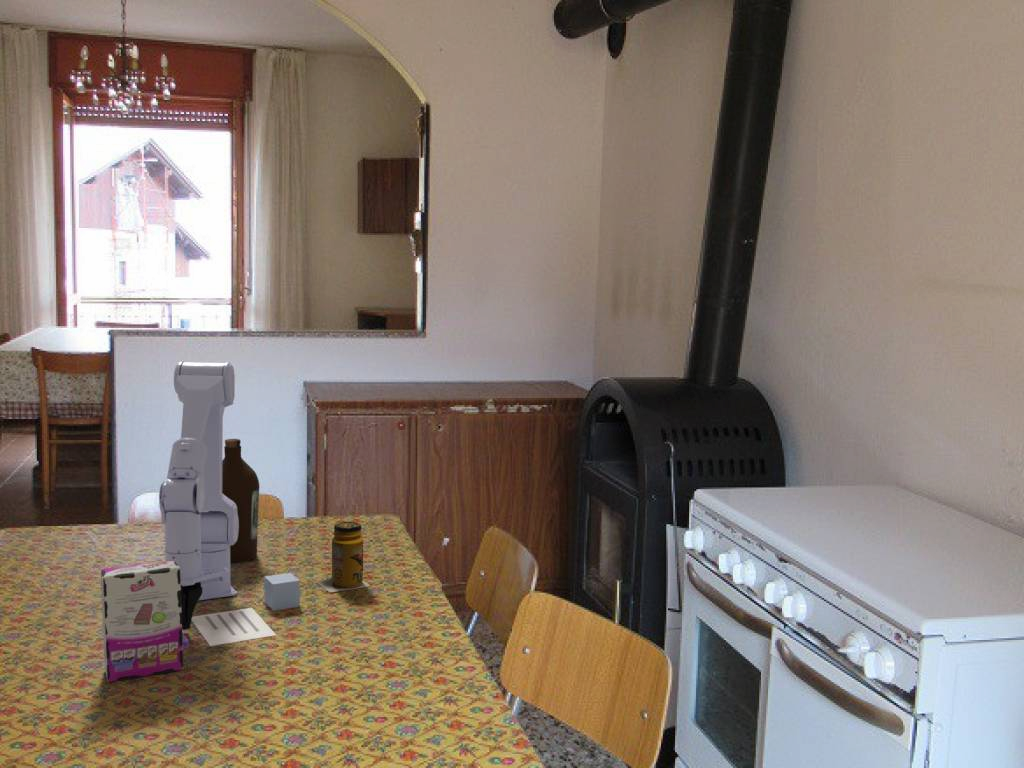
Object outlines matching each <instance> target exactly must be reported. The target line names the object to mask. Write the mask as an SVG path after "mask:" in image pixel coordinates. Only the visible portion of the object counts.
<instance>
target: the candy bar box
mask: <svg viewBox="0 0 1024 768" xmlns="http://www.w3.org/2000/svg"><path fill="white" fill-rule="evenodd" d="M180 582H181V579H180V567H179V566H178V565H177V563H176V561H175V560H170V561H165V560H163V561H153V562H145V563H139V564H131V565H123V566H115V567H107V568H100V588H101V589H100V591H101V609H102V610H101V612H102V613H101V614H102V636H103V638H102V640H103V657H104V659H103V661H104V672H105V676H106V680H107V682H108V683H110V682H111V683H112V682H118V681H124V680H131V679H135V678H136V679H137V678H140V677H141V678H142V677H148V676H149V677H150V676H154V675H159V674H166V673H170V672H171V673H172V672H179V671H182V670H183V669H184V649H183V641H182V633H183V630H182V615H181V613H182V612H181V583H180Z"/></svg>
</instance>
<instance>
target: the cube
mask: <svg viewBox="0 0 1024 768" xmlns="http://www.w3.org/2000/svg"><path fill="white" fill-rule="evenodd" d="M263 580H264V603H265V605H267V607H269V609H271V611H273V612H276V611H280V610H286V609H292V608H299V607H301V602H300V600H301V594H300V593H301V591H300V589H301V587H300V585H301V584H300V583H301V581H300V579H299V578H297V576H295V575H294V574H293V573H291V572H288V573H281V574H280V573H279V574H273V575H265V576H264V579H263Z"/></svg>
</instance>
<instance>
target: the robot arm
mask: <svg viewBox="0 0 1024 768" xmlns="http://www.w3.org/2000/svg"><path fill="white" fill-rule="evenodd" d="M235 378H236V377H235V368H234V366H233V364H232V363H231V362H229V361H227V362H186V361H185V362H184V361H179V362H178V363H177V364H176V365H175V368H174V371H173V387H174V390H175V393H176V394H177V397H178V398H177V399H178V401H179V402H181V403H182V405H183V406H182V419H181V431H180V438H179V439H176V441H174V442H173V444H172V447H171V452H170V453H171V454H170V457H169V464H168V469H167V476H166V481H162V482H161V483H160V486H159V493H158V501H159V502H158V505H159V509H160V510H159V511H160V514H161V523H162V524H163V525H164V557H165V558H164V561H170V560H175V561H176V563H177V565H178V566H179V567H180V579H181V582H180V583H181V612H182V613H181V615H182V631H185V630H190V629H191V623H192V620H191V619H192V617H194V616H193V615H194V613H195V608H196V607H197V604H198V602H199V601H204V600H205V601H206V600H211V599H216V598H217V599H218V598H219V599H220V598H225V597H232V596H233V597H234V596H237V595H238V592H237V590H235V588H234V587H233V586H232V584H231V563H230V546H231V545H234V543H235V542H236V541H237V539H238V532H239V520H238V514H237V506H236V504H235V503H234V502H233V501H232V500H230V499H229V498H228V497H226V496H225V495H224V494H223V493H222V460H223V432H224V431H223V428H224V427H223V425H224V424H223V421H224V420H223V418H224V417H223V416H224V413H225V409H226V408H227V407H230V406H232V405H233V404H234V400H235V386H236V385H235V384H236V383H235V380H236V379H235ZM208 511H221V512H208Z"/></svg>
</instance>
